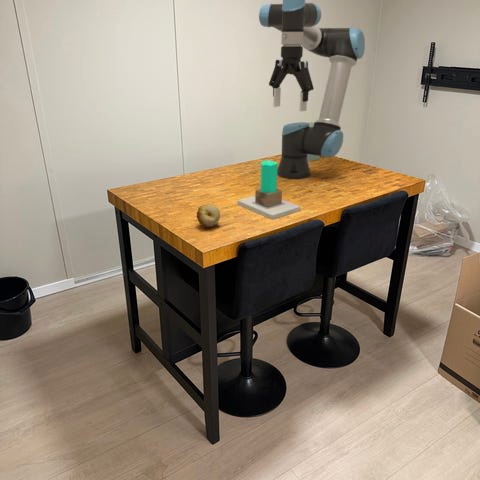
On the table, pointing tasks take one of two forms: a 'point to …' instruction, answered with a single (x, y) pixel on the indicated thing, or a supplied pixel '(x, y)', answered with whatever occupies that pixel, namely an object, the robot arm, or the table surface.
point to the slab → (271, 211)
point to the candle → (268, 176)
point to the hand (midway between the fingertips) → (289, 108)
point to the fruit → (208, 215)
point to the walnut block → (268, 198)
